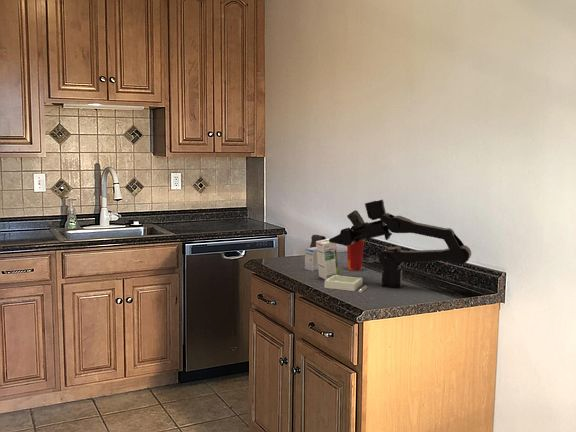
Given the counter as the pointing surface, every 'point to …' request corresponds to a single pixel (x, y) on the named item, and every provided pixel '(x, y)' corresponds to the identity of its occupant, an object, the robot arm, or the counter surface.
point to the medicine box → (311, 259)
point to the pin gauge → (362, 289)
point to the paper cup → (355, 255)
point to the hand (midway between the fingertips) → (333, 239)
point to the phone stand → (316, 238)
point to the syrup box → (327, 258)
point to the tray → (343, 282)
